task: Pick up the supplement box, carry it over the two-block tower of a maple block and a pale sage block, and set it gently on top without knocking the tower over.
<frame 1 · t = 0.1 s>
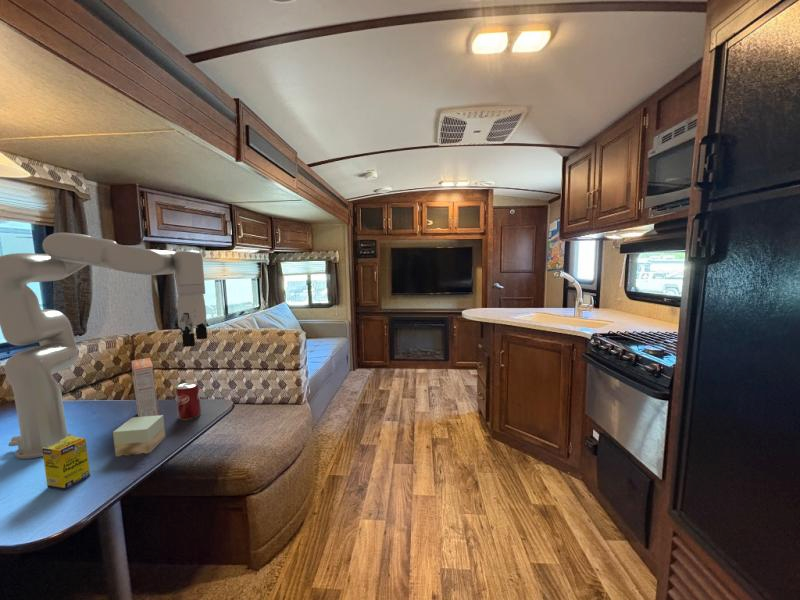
hand: (195, 342, 106), 31 cm above the table, tool pointing down, fingers open, 9 cm apart
tower top block: (140, 435, 102), point 4 cm above the table, touching tower base block
soda can: (190, 416, 122), on the table
cracker box: (148, 418, 121), on the table
supplement box: (69, 482, 86), on the table
tower base block: (141, 447, 102), on the table, touching tower top block
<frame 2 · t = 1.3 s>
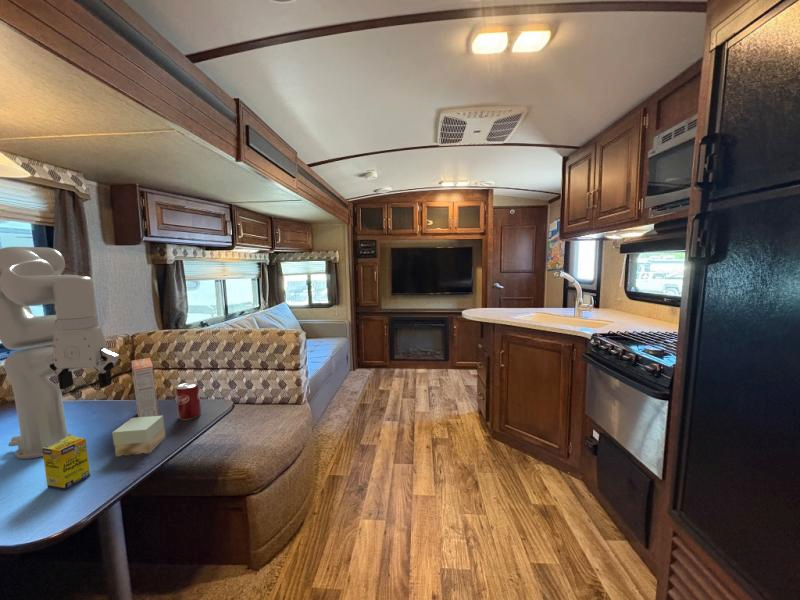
hand: (86, 386, 87), 24 cm above the table, tool pointing down, fingers open, 9 cm apart
nothing on the table moved.
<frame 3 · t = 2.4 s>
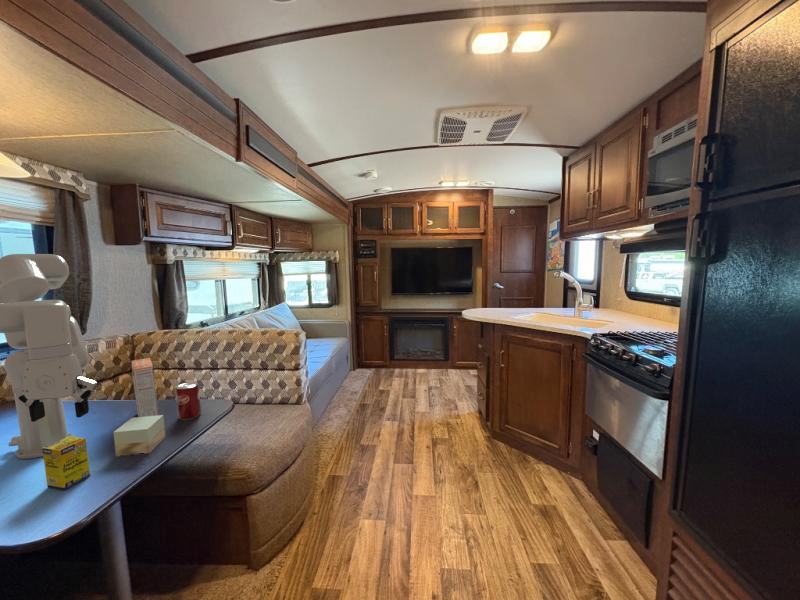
hand: (60, 417, 83), 18 cm above the table, tool pointing down, fingers open, 9 cm apart
nothing on the table moved.
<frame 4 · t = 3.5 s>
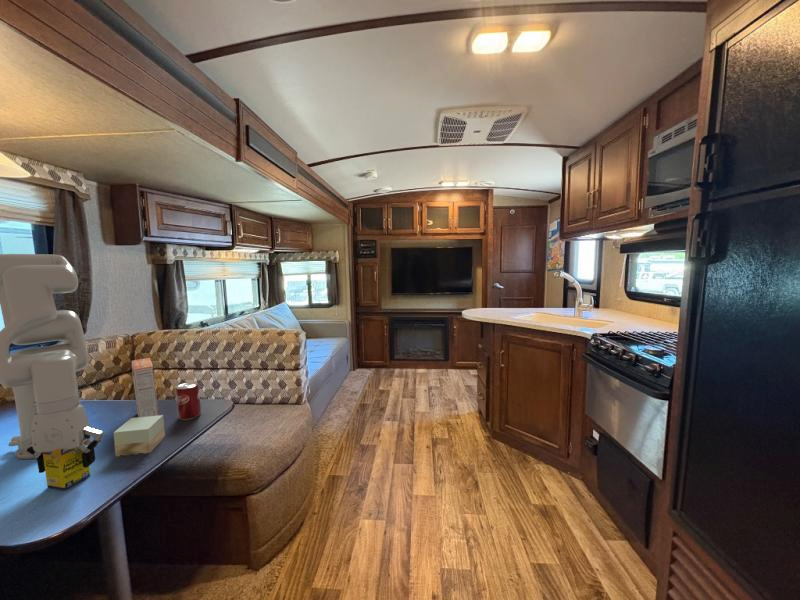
hand: (68, 467, 85), 4 cm above the table, tool pointing down, fingers open, 9 cm apart
nothing on the table moved.
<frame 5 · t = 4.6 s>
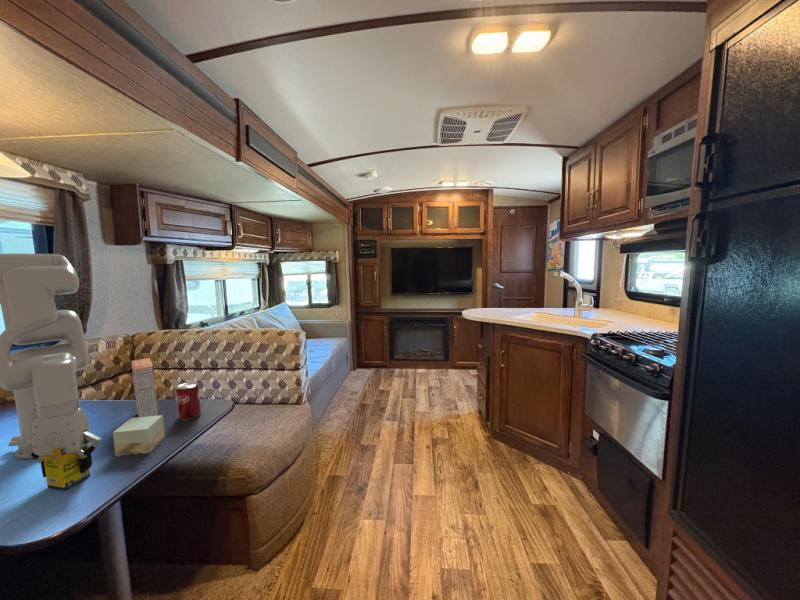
hand: (68, 471, 86), 3 cm above the table, tool pointing down, fingers closed on supplement box, 7 cm apart
supplement box: (69, 482, 86), on the table, touching gripper
everything else where it was.
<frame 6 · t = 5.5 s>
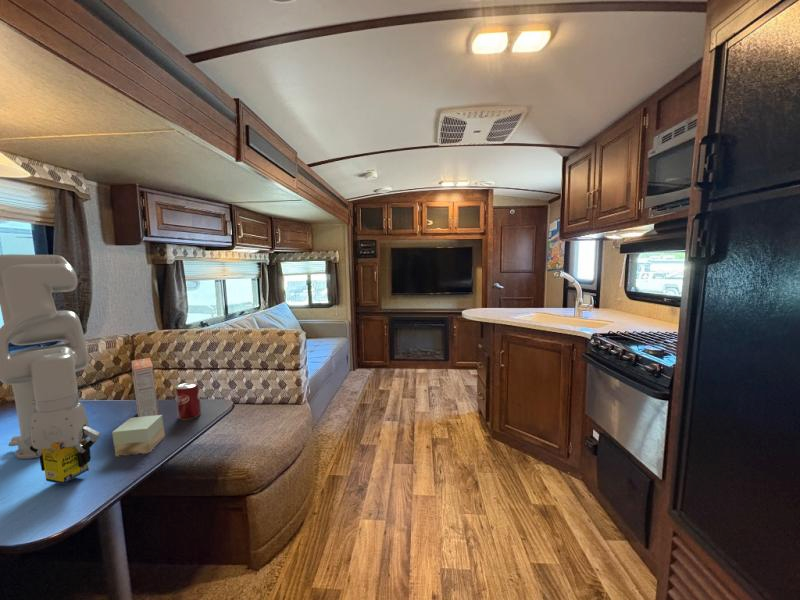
hand: (66, 465, 86), 4 cm above the table, tool pointing down, fingers closed on supplement box, 7 cm apart
supplement box: (68, 476, 86), point 1 cm above the table, touching gripper
everything else where it was.
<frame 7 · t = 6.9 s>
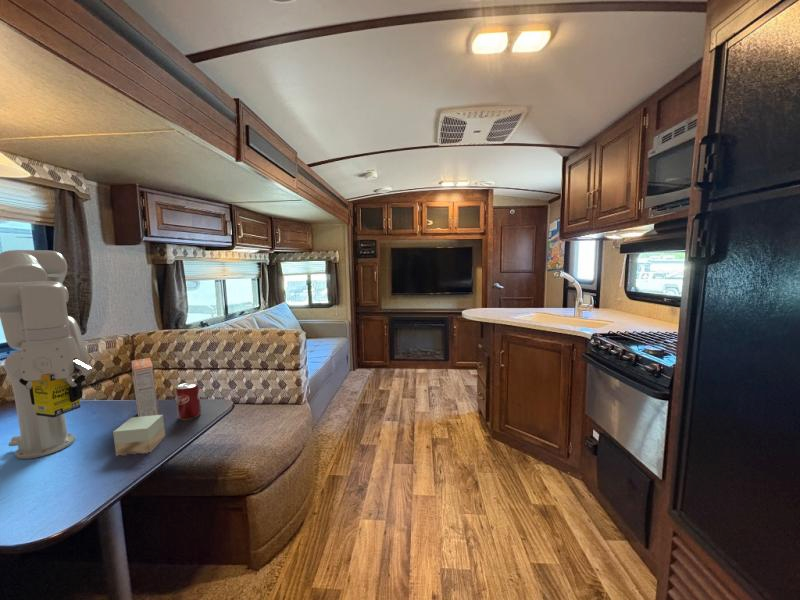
hand: (57, 400, 83), 22 cm above the table, tool pointing down, fingers closed on supplement box, 7 cm apart
supplement box: (59, 412, 84), point 19 cm above the table, touching gripper
everything else where it was.
when the fingers open (13 cm above the table, at t = 11.4 s): supplement box drops 2 cm, resting on tower top block.
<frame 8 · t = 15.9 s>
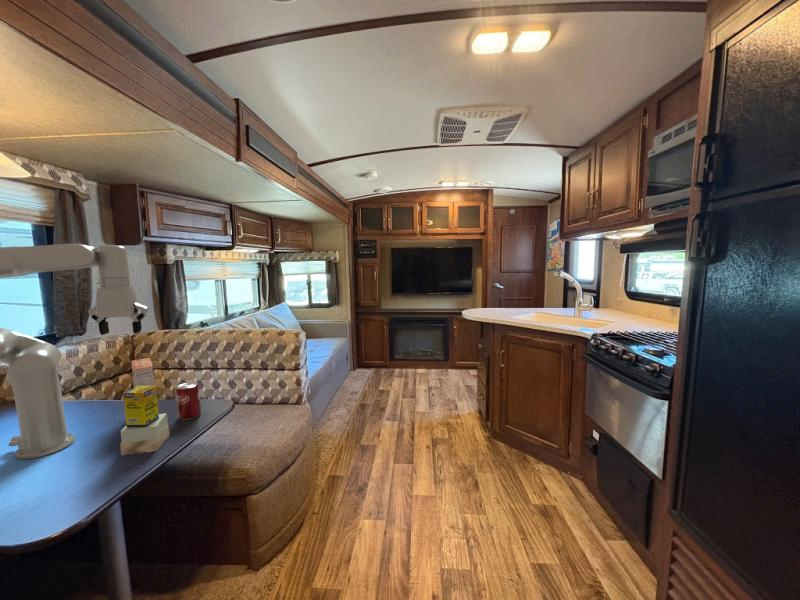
hand: (121, 333, 111), 33 cm above the table, tool pointing down, fingers open, 9 cm apart
tower top block: (146, 433, 103), point 4 cm above the table, touching supplement box, tower base block
supplement box: (143, 423, 102), point 7 cm above the table, touching tower top block
tower base block: (146, 446, 103), on the table, touching tower top block
everything else where it was.
at the end: supplement box 0.6 cm off-centre on the tower top block, point 3.8 cm above the tower top block's base; supplement box tilted 1°; tower top block inside the target area (1.5 cm from its centre), point 3.5 cm above the table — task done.
